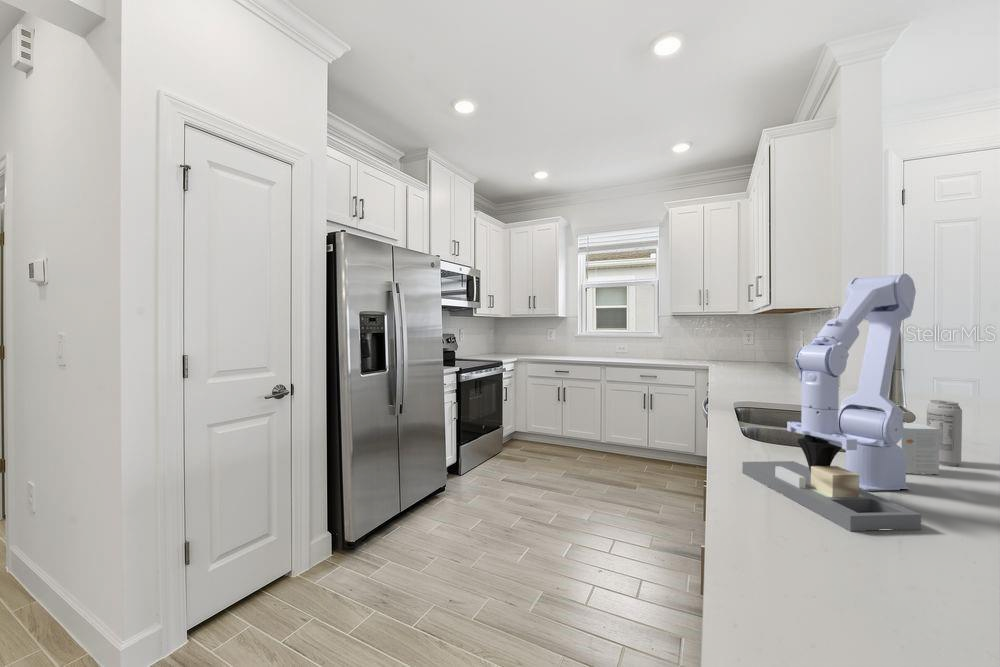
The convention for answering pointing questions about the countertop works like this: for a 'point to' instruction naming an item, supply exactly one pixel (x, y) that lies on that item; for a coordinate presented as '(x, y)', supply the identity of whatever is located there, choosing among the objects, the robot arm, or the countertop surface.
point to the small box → (920, 448)
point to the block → (835, 481)
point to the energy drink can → (947, 429)
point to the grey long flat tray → (832, 499)
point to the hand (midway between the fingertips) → (818, 477)
